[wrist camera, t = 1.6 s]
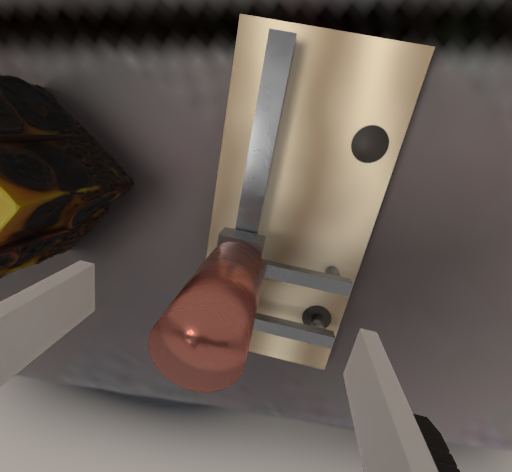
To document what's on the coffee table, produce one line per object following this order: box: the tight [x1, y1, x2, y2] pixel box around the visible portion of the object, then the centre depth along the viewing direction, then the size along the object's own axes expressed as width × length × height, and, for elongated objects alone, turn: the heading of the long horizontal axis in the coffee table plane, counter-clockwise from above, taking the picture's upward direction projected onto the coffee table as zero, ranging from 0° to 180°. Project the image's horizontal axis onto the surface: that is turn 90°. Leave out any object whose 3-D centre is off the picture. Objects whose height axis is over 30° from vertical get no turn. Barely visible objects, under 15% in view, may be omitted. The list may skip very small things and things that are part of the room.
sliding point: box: [149, 227, 353, 393], centre depth 16 cm, size 10×4×11 cm, turn 79°
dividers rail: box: [235, 29, 335, 349], centre depth 19 cm, size 9×23×3 cm, turn 169°
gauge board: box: [206, 14, 435, 370], centre depth 21 cm, size 12×25×1 cm, turn 169°
